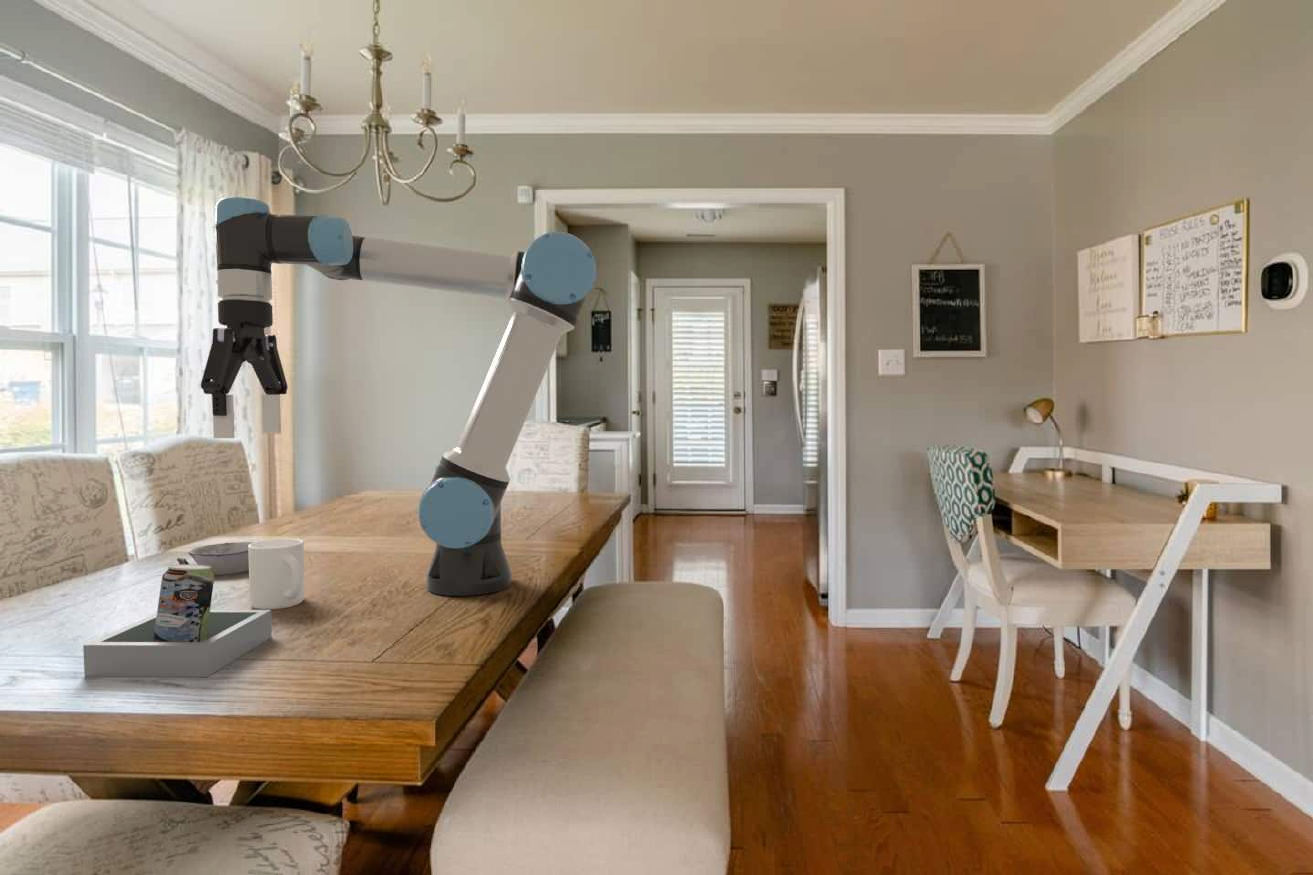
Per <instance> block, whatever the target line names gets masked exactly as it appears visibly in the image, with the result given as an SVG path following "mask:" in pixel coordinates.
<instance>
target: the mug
mask: <svg viewBox="0 0 1313 875" xmlns="http://www.w3.org/2000/svg"><path fill="white" fill-rule="evenodd" d="M254 542H255V541H254ZM304 551H305V550H304V540H303V539H297V538H274V539H265V540H260V541H256V542H255V543H252V544H250V545H249V546H248V554H249V570H248V579H249V580H248V581H249V602H250V605H251V607H252V608H254V609H255V610H271V611H272V610H281V609H286V608H287V609H288V608H291V607H295V606H297V605H299V604H301V603H302V602H303V601H305V596H306V595H305V593H306V589H305V587H306V586H305V582H306V581H305V555H304V554H305V553H304Z"/></svg>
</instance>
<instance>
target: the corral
mask: <svg viewBox="0 0 1313 875" xmlns="http://www.w3.org/2000/svg"><path fill="white" fill-rule="evenodd" d="M156 617H157V613H154V614H152V615H150V616H148V617H145V618H143V619H141V620H138V621H136V622H133V623H131V624H128V625H126V626H124V627H122V628H120V629H117V630H115V631H112V632H111V633H108V634H106V635H103V636H101V637H99V638H96V639H94V640H92V641H90V642H88V643H84V644H82V645H83V646H82V649H83V650H82V652H83V669H84V670H83V671H84V677H86V678H87V677H88V678H90V677H92V678H93V677H96V678H97V677H98V678H99V677H100V678H101V677H104V678H105V677H108V678H109V677H110V678H111V677H113V678H114V677H115V678H117V677H118V678H119V677H120V678H121V677H126V678H128V677H132V678H137V677H138V678H144V677H145V678H208V677H209V676H211V675H212V674H214V673H216V672H218V671H220V670H221V669H222V668H224V667H226V666H227V665H229V664H231V663H232V662H234V661H235V660H236V659H239V658H240V657H242V656H243V655H245V654H247V653H249V652H250V651H251V650H253V649H255V648H257V647H258V646H260V645H261V644H263V643H264V642H266V641H268V640H269V639H271V638H272V637H273V636H272V635H273V634H272V610H261V609H210V614H209V621H208V629H207V636H206V641H204V642H153V639H154V631H155V624H156Z"/></svg>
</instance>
